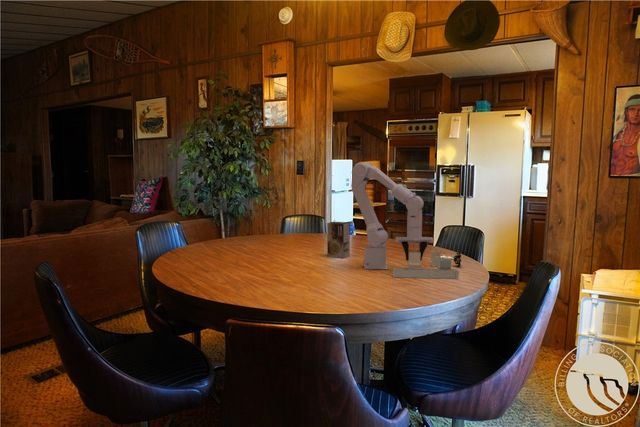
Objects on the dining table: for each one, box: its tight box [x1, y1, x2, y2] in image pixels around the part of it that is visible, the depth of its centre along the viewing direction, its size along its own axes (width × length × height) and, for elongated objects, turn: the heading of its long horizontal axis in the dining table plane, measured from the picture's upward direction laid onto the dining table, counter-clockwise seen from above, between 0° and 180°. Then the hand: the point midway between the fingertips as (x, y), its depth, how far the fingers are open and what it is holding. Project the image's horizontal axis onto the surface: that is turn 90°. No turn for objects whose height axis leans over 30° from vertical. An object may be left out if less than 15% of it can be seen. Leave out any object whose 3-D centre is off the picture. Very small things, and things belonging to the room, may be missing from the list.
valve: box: [430, 249, 462, 268], centre depth 180 cm, size 7×7×12 cm
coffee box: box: [326, 221, 351, 259], centre depth 200 cm, size 9×6×16 cm
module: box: [406, 249, 422, 268], centre depth 169 cm, size 4×7×6 cm
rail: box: [392, 258, 460, 280], centre depth 163 cm, size 24×8×6 cm, turn 86°
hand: (413, 260), depth 170 cm, fingers closed on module, 4 cm apart
